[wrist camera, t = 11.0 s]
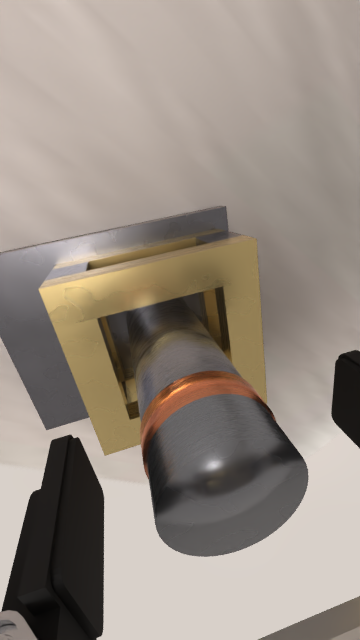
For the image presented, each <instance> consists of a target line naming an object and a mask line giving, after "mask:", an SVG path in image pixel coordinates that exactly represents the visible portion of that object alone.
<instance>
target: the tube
mask: <svg viewBox="0 0 360 640" xmlns="http://www.w3.org/2000/svg"><path fill="white" fill-rule="evenodd" d="M126 321H127V329H128V336H129V343H130V350H131V357H132V364H133V371H134V378H135V385H136V392H137V399H138V406H139V413H140V420H141V426H140V441H141V448H142V456H143V464H144V469H145V473H146V475H147V477H148V479H149V483H150V490H151V497H152V504H153V511H154V518H155V525H156V529H157V532H158V534H159V536H160V537H161V539H162V540H163V541H164V543H166V544H167V545H168V546H169V547H171V548H172V549H174V550H175V551H178V552H180V553H183V554H187V555H192V556H204V557H207V556H218V555H224V554H228V553H232V552H236V551H239V550H241V549H244V548H247V547H249V546H251V545H253V544H255V543H257V542H259V541H261V540H263V539H264V538H266V537H267V536H269V535H270V534H272V533H273V532H274V531H276V530H277V529H278V528H279V527H281V526H282V525H283V524H284V523H285V522H286V521H287V520H288V519H289V518H290V517H291V516H292V514H293V513H294V512H295V511H296V509H297V508H298V506H299V504H300V503H301V501H302V499H303V497H304V495H305V492H306V489H307V485H308V469H307V466H306V463H305V461H304V459H303V457H302V456H301V455H300V453H299V452H298V451H297V449H296V448H295V447H294V445H293V444H292V443H291V441H290V440H289V439H288V437H287V436H286V435H285V433H284V432H283V431H282V429H281V428H280V427H279V425H278V424H277V423H276V420H275V417H274V415H273V413H272V411H271V410H270V408H269V407H268V406H267V405H266V403H265V402H264V401H263V399H262V398H261V397H260V396H259V394H258V393H257V392H256V390H255V389H254V388H253V387H252V385H251V384H250V383H249V382H247V381H246V380H245V379H243V378H242V376H241V375H240V374H239V372H238V371H237V370H236V368H235V367H234V366H233V364H232V363H231V362H230V360H229V359H228V358H227V356H226V355H225V354H224V352H223V351H222V350H221V348H220V347H219V346H218V344H217V343H216V342H215V340H214V339H213V338H212V336H211V335H210V334H209V332H208V331H207V330H206V328H205V327H204V326H203V324H202V323H201V322H200V321H199V319H198V318H197V317H196V315H195V314H194V313H193V311H192V310H191V309H190V307H189V306H188V305H187V303H186V302H185V301H184V299H183V298H182V297H179V298H175V299H171V300H167V301H163V302H159V303H155V304H151V305H147V306H143V307H139V308H135V309H131V310H128V312H127V317H126Z"/></svg>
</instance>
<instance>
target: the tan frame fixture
mask: <svg viewBox="0 0 360 640" xmlns="http://www.w3.org/2000/svg"><path fill="white" fill-rule="evenodd" d="M179 297H182V298H183V299H184V301H185V302H186V303H187V305H188V306H189V307H190V309H191V310H192V311H193V313H194V314H195V315H196V317H197V318H198V319H199V321H200V322H201V323H202V324H203V326H204V327H205V328H206V330H207V331H208V332H209V334H210V335H211V336H212V338H213V339H214V340H215V342H216V343H217V344H218V346H219V347H220V348H221V350H222V351H223V352H224V354H225V355H226V356H227V358H228V359H229V360H230V362H231V363H232V364H233V366H234V367H235V368H236V370H237V371H238V372H239V374H240V375H241V376H242V378H243V379H245V380H246V381H247V382H249V383H250V384H251V385H252V387H253V388H254V389H255V390H256V392H257V393H258V394H259V396H260V397H261V398H262V399H263V401H264V402H265V403H267V394H266V378H265V363H264V347H263V332H262V316H261V301H260V285H259V270H258V254H257V239H256V238H252V237H248V236H245V235H241V234H237V233H233V232H229V231H228V222H227V212H226V206H219V207H214V208H209V209H204V210H200V211H195V212H190V213H185V214H180V215H176V216H171V217H166V218H161V219H157V220H152V221H147V222H142V223H138V224H133V225H128V226H123V227H119V228H114V229H109V230H104V231H100V232H95V233H90V234H85V235H81V236H76V237H71V238H66V239H62V240H57V241H52V242H47V243H43V244H38V245H33V246H28V247H24V248H19V249H14V250H9V251H5V252H0V337H1V339H2V341H3V343H4V345H5V347H6V349H7V351H8V353H9V355H10V357H11V359H12V361H13V363H14V365H15V367H16V369H17V371H18V373H19V375H20V377H21V379H22V381H23V383H24V385H25V387H26V389H27V391H28V393H29V395H30V398H31V400H32V402H33V404H34V406H35V408H36V410H37V412H38V414H39V416H40V418H41V420H42V422H43V424H44V426H45V428H46V430H49V429H52V428H55V427H59V426H62V425H65V424H68V423H72V422H75V421H78V420H82V419H85V418H88V417H90V420H91V422H92V425H93V427H94V430H95V432H96V435H97V437H98V440H99V442H100V445H101V447H102V450H103V452H104V455H105V456H106V455H109V454H112V453H115V452H118V451H121V450H124V449H127V448H130V447H133V446H136V445H140V444H141V441H140V426H141V420H140V413H139V406H138V399H137V392H136V385H135V378H134V371H133V364H132V357H131V350H130V343H129V336H128V329H127V321H126V317H127V312H128V310H131V309H135V308H139V307H143V306H147V305H151V304H155V303H159V302H163V301H167V300H171V299H175V298H179Z"/></svg>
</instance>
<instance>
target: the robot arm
mask: <svg viewBox="0 0 360 640" xmlns="http://www.w3.org/2000/svg"><path fill="white" fill-rule="evenodd" d="M331 414H332V418H333V420H334V422H335V423H336V425H337V426H338V427H339V428H340V429H341V430H342V431H343V432H344V433H345V434H346V435H347V436H348V437H349V438H350V439H351V440H352V441H353V442H354V443H355V444H356V445H357V446H358V447H359V448H360V351H358V350H354V351H351V352H347V353H344V354H341V355H340V356H339V358H338V360H337V361H336V363H335V375H334V388H333V400H332V413H331ZM103 575H104V495H103V490H102V488H101V485H100V484H99V481H98V479H97V476H96V474H95V472H94V470H93V468H92V465H91V463H90V461H89V459H88V457H87V454H86V452H85V450H84V448H83V445H82V443H81V441H80V439H79V438H78V437H77V438H73V436H72V435H67V436H64V437H61V438H57V439H54V440H52V441H51V444H50V449H49V454H48V458H47V463H46V467H45V472H44V477H43V481H42V486H41V489H39V490H36V491H34V492H33V493H32V494H31V496H30V499H29V502H28V506H27V510H26V514H25V518H24V522H23V526H22V530H21V534H20V538H19V543H18V546H17V550H16V555H15V559H14V563H13V567H12V571H11V575H10V579H9V583H8V587H7V591H6V595H5V599H4V603H3V607H2V611H1V612H0V640H96V638H97V637H100V636H101V635H102V632H103V590H104V588H103V587H104V585H103V582H104V581H103V580H104V576H103ZM259 640H360V596H359V597H357V598H354V599H352V600H350V601H347V602H345V603H343V604H340V605H338V606H336V607H333V608H331V609H329V610H326V611H324V612H321V613H319V614H317V615H314V616H312V617H310V618H307V619H305V620H303V621H300V622H298V623H295V624H293V625H291V626H289V627H286V628H284V629H281V630H279V631H277V632H275V633H272V634H270V635H268V636H265V637H263V638H261V639H259Z"/></svg>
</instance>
